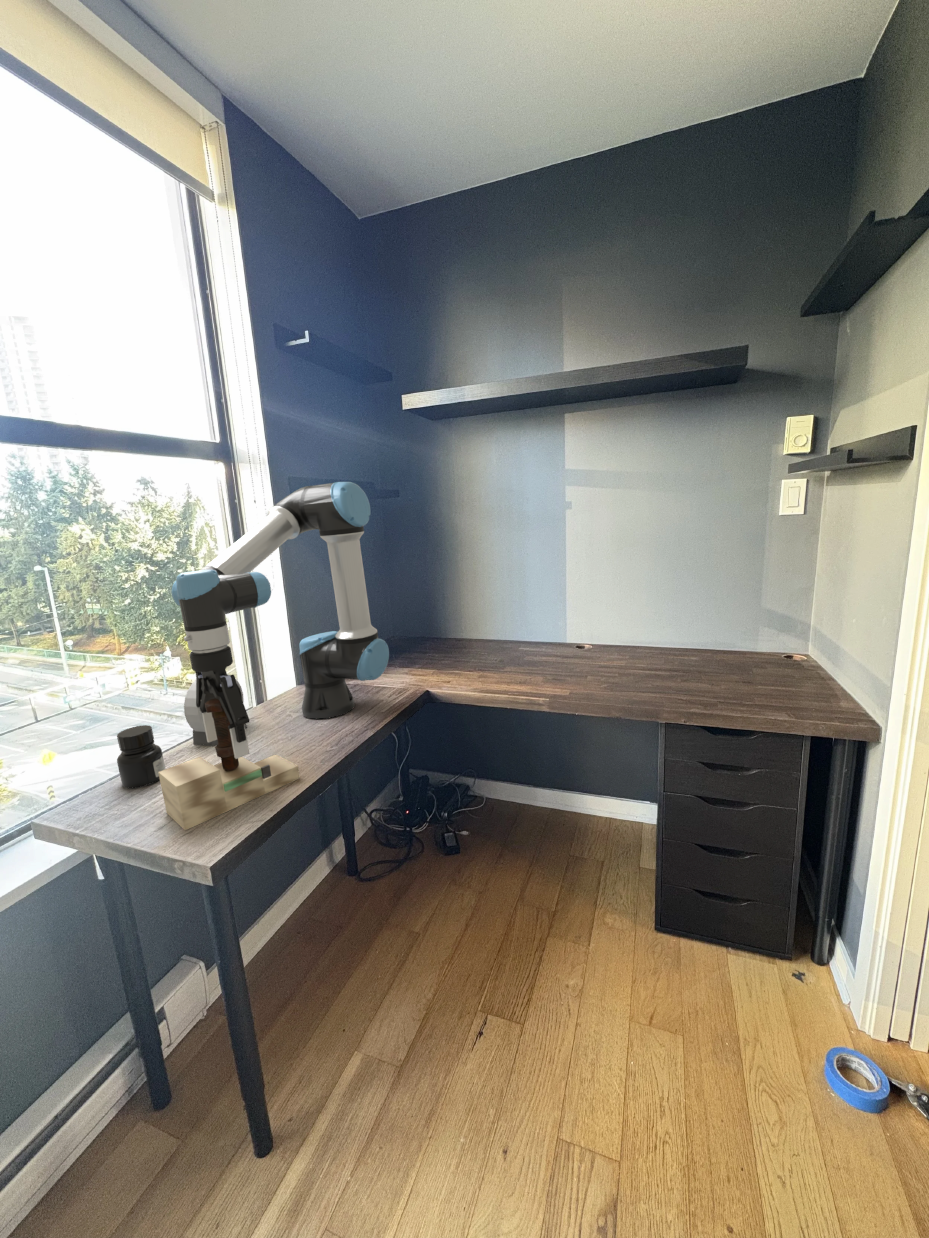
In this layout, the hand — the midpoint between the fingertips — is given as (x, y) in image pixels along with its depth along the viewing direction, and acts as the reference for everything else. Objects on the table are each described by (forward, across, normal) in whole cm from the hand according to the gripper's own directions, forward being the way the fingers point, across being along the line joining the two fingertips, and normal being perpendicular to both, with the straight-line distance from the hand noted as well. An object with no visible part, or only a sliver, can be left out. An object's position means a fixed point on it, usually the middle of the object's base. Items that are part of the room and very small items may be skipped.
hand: (227, 747), depth 110 cm
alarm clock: (+11, -37, +12) cm, 40 cm away
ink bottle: (+11, -26, -10) cm, 30 cm away
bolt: (+5, 0, 0) cm, 5 cm away
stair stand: (+11, 0, 0) cm, 11 cm away
